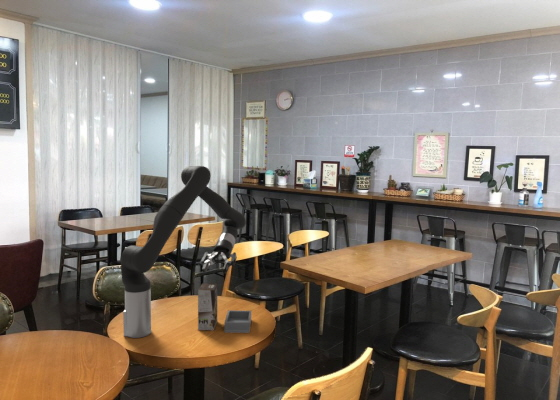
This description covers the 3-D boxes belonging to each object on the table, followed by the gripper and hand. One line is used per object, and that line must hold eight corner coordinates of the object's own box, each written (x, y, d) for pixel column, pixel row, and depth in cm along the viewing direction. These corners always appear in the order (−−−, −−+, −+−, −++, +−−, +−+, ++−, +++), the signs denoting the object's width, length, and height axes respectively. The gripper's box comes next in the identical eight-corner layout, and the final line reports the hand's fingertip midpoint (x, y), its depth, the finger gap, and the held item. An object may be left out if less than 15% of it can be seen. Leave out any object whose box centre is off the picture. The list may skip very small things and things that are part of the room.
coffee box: (214, 330, 170) (214, 290, 168) (197, 330, 170) (197, 289, 168) (218, 321, 179) (218, 282, 177) (202, 321, 179) (202, 282, 177)
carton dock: (224, 332, 168) (224, 322, 167) (227, 319, 180) (227, 310, 180) (249, 332, 168) (249, 322, 168) (251, 320, 181) (251, 310, 180)
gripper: (207, 238, 190) (195, 264, 177) (238, 238, 187) (228, 264, 174) (211, 252, 194) (199, 278, 181) (242, 252, 191) (232, 278, 178)
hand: (214, 271), depth 177 cm, fingers open, 8 cm apart
